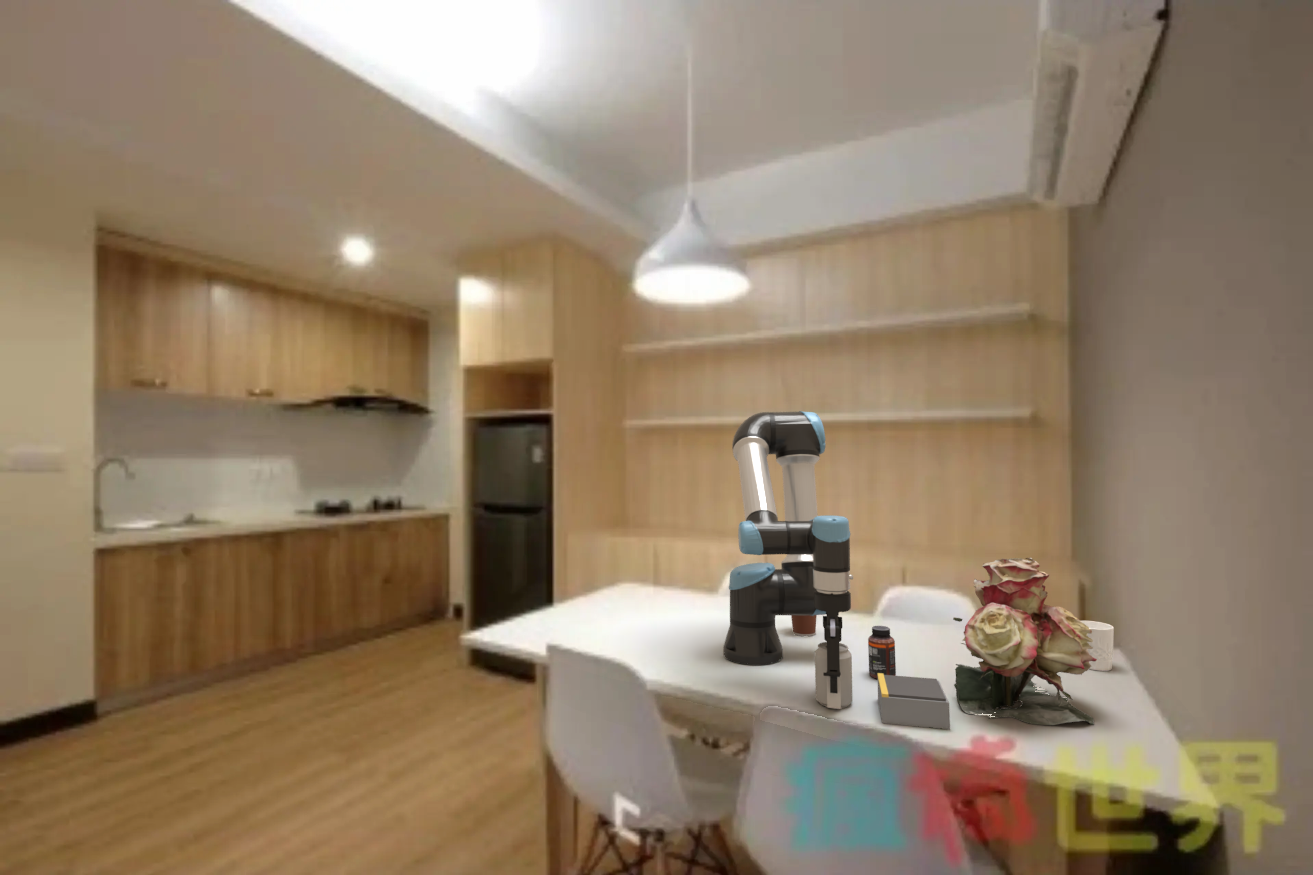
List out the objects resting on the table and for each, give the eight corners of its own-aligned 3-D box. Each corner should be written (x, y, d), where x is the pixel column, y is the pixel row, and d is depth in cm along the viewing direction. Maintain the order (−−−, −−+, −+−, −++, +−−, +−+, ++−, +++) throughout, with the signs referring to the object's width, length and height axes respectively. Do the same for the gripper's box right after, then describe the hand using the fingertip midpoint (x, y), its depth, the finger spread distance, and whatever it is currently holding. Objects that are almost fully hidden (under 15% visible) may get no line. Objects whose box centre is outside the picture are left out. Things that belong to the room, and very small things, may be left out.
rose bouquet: (962, 723, 123) (959, 567, 124) (948, 673, 150) (945, 545, 151) (1120, 742, 114) (1115, 574, 115) (1074, 685, 142) (1071, 550, 142)
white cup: (1117, 665, 154) (1116, 624, 154) (1112, 674, 148) (1110, 631, 148) (1078, 658, 159) (1077, 618, 160) (1072, 666, 154) (1071, 625, 154)
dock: (882, 722, 123) (881, 693, 123) (877, 699, 135) (877, 672, 135) (949, 729, 120) (949, 699, 120) (939, 704, 131) (938, 677, 132)
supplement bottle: (895, 673, 150) (894, 625, 151) (896, 682, 145) (895, 632, 145) (868, 670, 152) (868, 623, 153) (868, 679, 147) (867, 629, 147)
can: (848, 696, 136) (847, 640, 137) (856, 710, 129) (855, 651, 129) (813, 695, 137) (812, 639, 138) (818, 709, 130) (817, 650, 130)
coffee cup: (787, 628, 190) (786, 588, 190) (818, 629, 188) (817, 588, 189) (789, 637, 181) (788, 594, 181) (822, 638, 179) (821, 595, 180)
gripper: (852, 601, 123) (854, 721, 122) (849, 581, 143) (851, 684, 142) (812, 600, 125) (814, 717, 124) (814, 579, 144) (816, 681, 144)
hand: (833, 699), depth 133 cm, fingers closed on can, 7 cm apart
